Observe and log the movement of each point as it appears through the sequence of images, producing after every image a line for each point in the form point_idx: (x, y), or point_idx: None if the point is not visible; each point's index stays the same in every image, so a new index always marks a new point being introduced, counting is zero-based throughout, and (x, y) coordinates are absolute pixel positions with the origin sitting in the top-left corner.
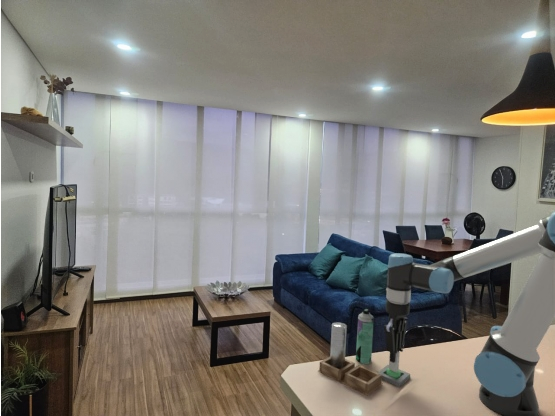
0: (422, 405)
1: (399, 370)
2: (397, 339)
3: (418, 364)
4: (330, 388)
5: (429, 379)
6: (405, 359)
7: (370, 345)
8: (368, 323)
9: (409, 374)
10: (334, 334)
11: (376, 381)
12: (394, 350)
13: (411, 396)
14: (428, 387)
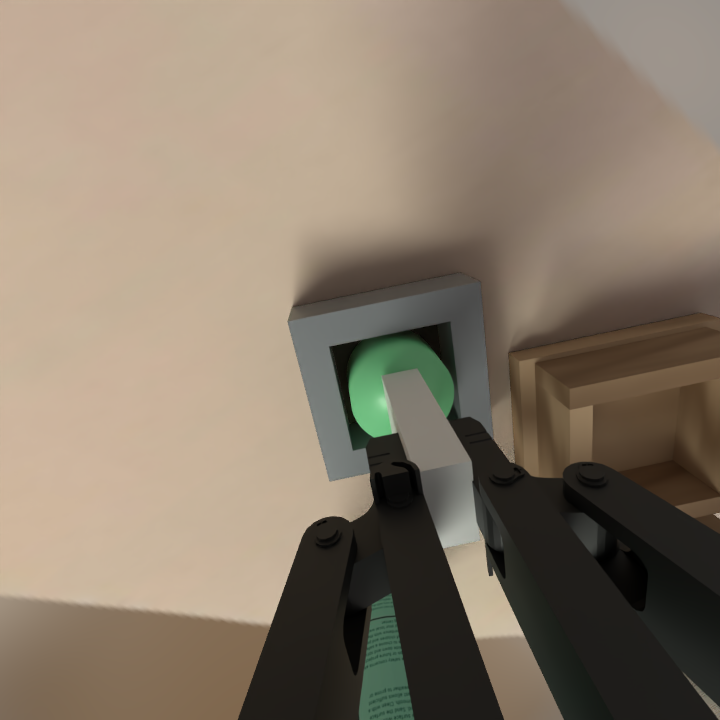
0: (494, 52)
1: (356, 380)
2: (608, 645)
3: (26, 418)
4: None
5: (124, 243)
6: (71, 500)
7: (398, 676)
8: None
9: (302, 319)
10: None
11: (635, 364)
12: (594, 487)
13: (455, 177)
14: (233, 177)
